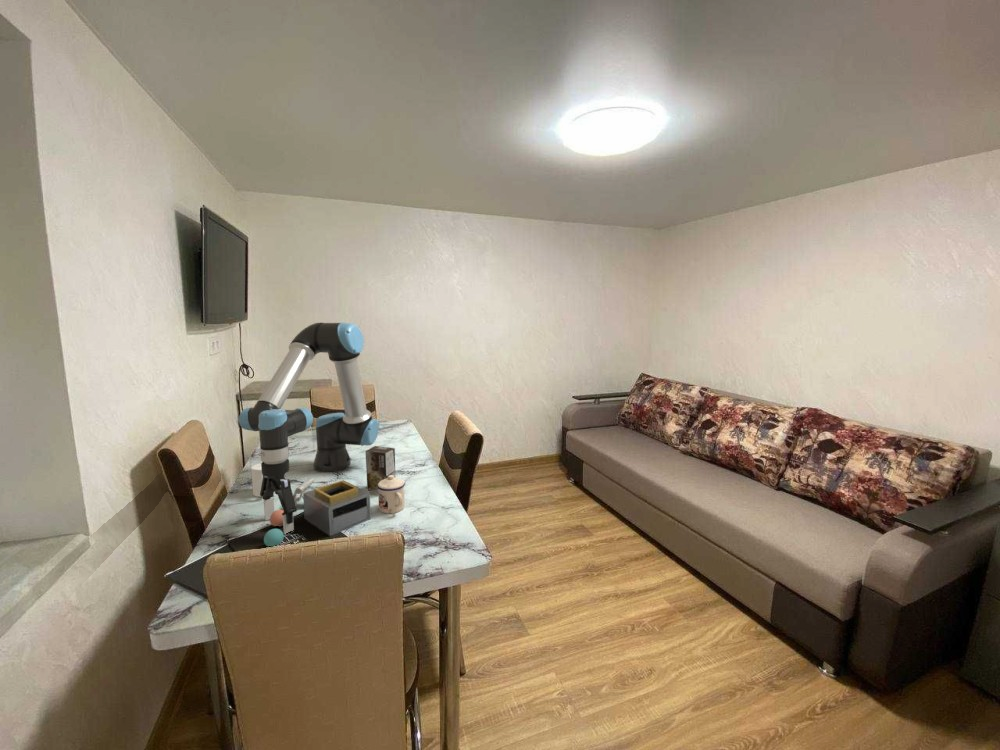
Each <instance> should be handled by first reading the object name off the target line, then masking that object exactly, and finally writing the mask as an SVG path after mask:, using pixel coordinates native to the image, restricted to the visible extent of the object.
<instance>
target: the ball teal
mask: <svg viewBox="0 0 1000 750" xmlns="http://www.w3.org/2000/svg"><path fill="white" fill-rule="evenodd" d="M284 537H285V534H284V531H282V530H281V529H279V528H272V529H269V530H268V531H267V532H265V535H264V537H263V543H264V545H266V547H268V548H270V547H269V546H275V545H278V546H280V545H281V544H282V543H283V540H284ZM279 544H280V545H279Z"/></svg>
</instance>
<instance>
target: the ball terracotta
mask: <svg viewBox="0 0 1000 750" xmlns="http://www.w3.org/2000/svg"><path fill="white" fill-rule="evenodd" d="M283 512H284V511H283V509H277V510H274V512H273V513H272V515H271V516H270V519H269V523H270V524H271V525H272V527H276V526H279V527H282V526H283V515H282V513H283Z"/></svg>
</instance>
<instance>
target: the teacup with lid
mask: <svg viewBox="0 0 1000 750" xmlns="http://www.w3.org/2000/svg"><path fill="white" fill-rule="evenodd" d="M405 484H406V482H405V481H404V480H403V479H402V478H398V477H396V478H395V477H394V476H393V475H389V476H388V478H387V479H384V480H382V481H380V482H379V483H378V486H377V487H378V493H377V494H378V497H377V498H378V511H380V512H381V513H382V514H395V513H398V512H401V511H402V510H404V508H405V504H406V503H405Z"/></svg>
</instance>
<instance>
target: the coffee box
mask: <svg viewBox="0 0 1000 750" xmlns="http://www.w3.org/2000/svg"><path fill="white" fill-rule="evenodd" d="M395 451H396V448H395V447H385V446H377V445H374V446H372V447H370V448H369V449H367V450H365V468H366V469H365V470H366V472H365V473H366V487H367V489H366V491H367V492H369V493H370V492H371V493H375V494H376V493H377V494H378V487H377V486H378V483H379V482H380V481H382V480H384V479H387V478H388V476H389V475H393V476H394V477H395V478H397V477H396V452H395Z"/></svg>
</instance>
